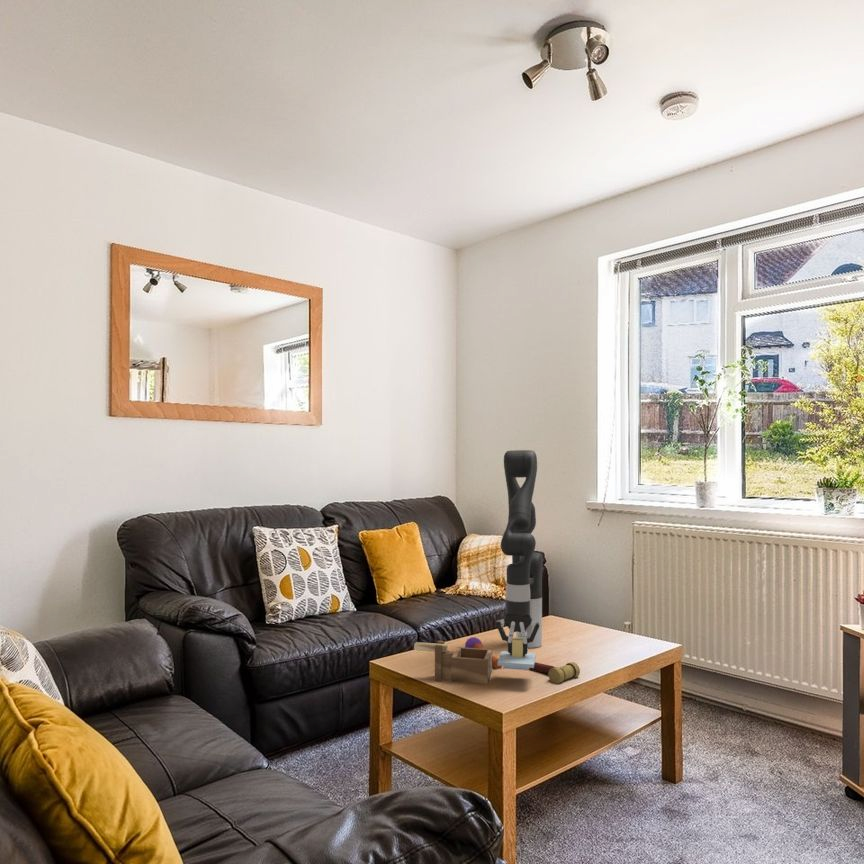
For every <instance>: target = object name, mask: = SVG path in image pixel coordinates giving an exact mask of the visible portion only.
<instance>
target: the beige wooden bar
mask: <svg viewBox="0 0 864 864" xmlns="http://www.w3.org/2000/svg"><path fill="white" fill-rule="evenodd" d="M435 644H437V643H436V642H435V643H433V642H432V643H431V642H420V641H416V642H415V643H414V646H413V650H414V651H421V652H422V651H423V652H434V653H435ZM448 644H449V643H448ZM448 644H447V643H444V644H439V645H442V652H447V651H449V650H448V649H449V648H448Z"/></svg>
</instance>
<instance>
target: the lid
mask: <svg viewBox="0 0 864 864" xmlns="http://www.w3.org/2000/svg"><path fill="white" fill-rule="evenodd" d="M536 657H537V654H536V653H534V652H533V653H532V652H527V654H525V656H523V638H518V637H516V636H515V637H514V636H513V639H512V655H510V653H508V651H504V650H503V651H502V650H501V652H500V654H499V657H498V658H499V659H498V666H502V669H505V670H517V671H518V670H519V671H520V670H521V671H530V669H529V668H534V664H535V662H536Z"/></svg>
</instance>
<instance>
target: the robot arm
mask: <svg viewBox="0 0 864 864" xmlns="http://www.w3.org/2000/svg"><path fill="white" fill-rule="evenodd" d="M503 468H504V476H505V482H506V490H507V500H508V519H507V520H508V521H507V524H506V527H505V530H504V533H503V534H502V537H501V539H500V549H501V552H502V553H503V554H504V555H505V556H510V557H511V563H510V564H508V565H507V567H506V587H505V614H504V615H505V616H504V618H502V619H497V620H496V622H495V625H496V628H497V630H498V632H499V635H500V637H501V640H502V641H503V642H507V652H508V653H510V655H512V639H513V637H514V633H516V634H515V637H518V638H523V656H525V654H527V653H529V652H528V649H530V648H533V649H534V648H539V647H541V646H542V643H543V639H542V638H543V633H542V632H543V630H542V629H543V592H542V591H543V569H544V568H543V567H544V565H543V564H544V563H543V562H544V560H543V555H542V554H541V553H540V552H535V549H536V541H537V540H536V538H535V537H534V535H533V534H532V533H533V532H534V530H535V528H536V525H537V521H536V520H537V518H536V507H535V505H534V503H533V502H532V500H533V496H534V491H535V486H536V485H535V484H536V478H537V473H538V458H537V454H536V452H535V450H530V449H529V450H528V449H525V450H523V449H516V450H514V449H513V450H507V451H505V453H504V455H503ZM518 478H525V480H524V482H523V483H522V485H521V486H520V484H519V483H518V480H517V479H518ZM530 579H532V581H531V582H530ZM505 625H506V626H507V627H508V629H509V632H508V633H509V634H508V635H507V634H506V632H505V629H504V626H505Z"/></svg>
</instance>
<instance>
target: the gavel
mask: <svg viewBox="0 0 864 864" xmlns="http://www.w3.org/2000/svg"><path fill="white" fill-rule="evenodd" d="M580 669H581V668H580V666H579V664H578V663H576V662H574V661H570V662H568V663H566V664H565V665H562V666H554V665H549V664H546V663H545V664H544V663H541V662H540V663H539V662H536V661H535V664H534V668H529V670H531V671H535V672H539V673H543V674H544V673H545V674H548V679H549V681H550V682H552V683H555V684H561V683H563V681H566V680H570V679H571V678H573V679H575V678H578V677H579V676H580V673H581V670H580Z"/></svg>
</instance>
